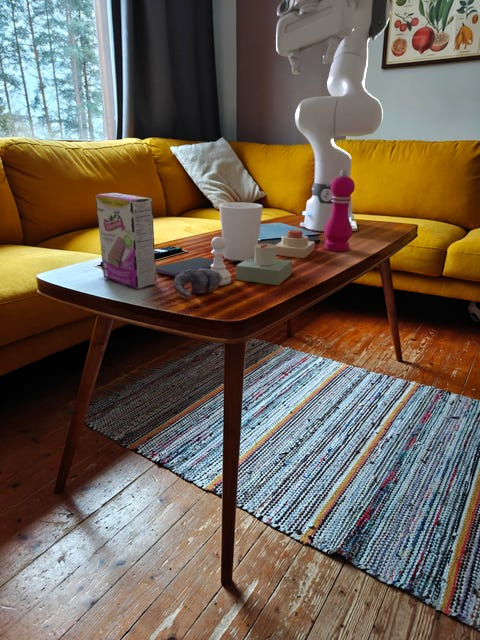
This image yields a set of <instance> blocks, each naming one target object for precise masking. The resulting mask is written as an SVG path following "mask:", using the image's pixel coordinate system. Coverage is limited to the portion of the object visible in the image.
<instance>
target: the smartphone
mask: <svg viewBox="0 0 480 640" xmlns="http://www.w3.org/2000/svg"><path fill="white" fill-rule="evenodd" d="M213 263H214V258H213V259H212V258H207V257H202V256H197V257H192V258H187V259H183V260H178V261H174V262H170V263H165V264H159V265H156V274H157V273H158V274H164V275H167V276H171V277H176V276H177V275H179V274H180V273H182V272H184V271H187V270H190V269H194V270H199V269H202V268H205V269H211V265H212V264H213Z"/></svg>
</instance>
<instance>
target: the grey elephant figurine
mask: <svg viewBox="0 0 480 640" xmlns="http://www.w3.org/2000/svg"><path fill="white" fill-rule="evenodd" d="M221 280H222V276H221V275H220V273H219V272H218V271H214V270H211V268H209V269H205V268H202V269H199V270H194V269H190V270H187V271H184V272H182V273H180V274H179V275H177V276H175V278H174V280H173V287H174V291H175V292H176V293H177V294H178V296H180V297H181V298H183V299H187V298H191V299H192V298H193V293H195V294H197V295H198V294H199V295H200V294H203V293H204V292H206V293H210V292H213V291H214V290H216V289H217V288H219V286H220V285H219V283H220V282H221ZM188 283H190V287H191V288H190V289H191V290H188V289H186V288H185V287H186V285H188Z"/></svg>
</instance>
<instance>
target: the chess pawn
mask: <svg viewBox="0 0 480 640" xmlns="http://www.w3.org/2000/svg"><path fill="white" fill-rule="evenodd" d="M210 246H211V248H212V250H211V251H210V253H211V254H213V255H214V257H213V260H214V263H213V264H212V265H211V268H210V269H211V270H214V271H218V272H219V273H220V275H221V276H222V280H221V282H220V283H219V285H218V286H226V285H229V284H231V282H232V274H231V272H230V271H229V270H227V268H226V267H227V265H226V264H225V263H224V257H223V255H224V254H225V253H226V252H225V251H224V250H223V249H224V248H225V246H226V242H225V240H224V239H223V238H222V236H215V237H213V238H212V239H211V241H210Z"/></svg>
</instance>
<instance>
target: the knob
mask: <svg viewBox="0 0 480 640" xmlns="http://www.w3.org/2000/svg"><path fill="white" fill-rule="evenodd" d="M276 247H277V246H276V244H273V243H258V244H256V245H255V256H254V263H256V264H258V265H273V264H275V263H276V259H277V255H276Z"/></svg>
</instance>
